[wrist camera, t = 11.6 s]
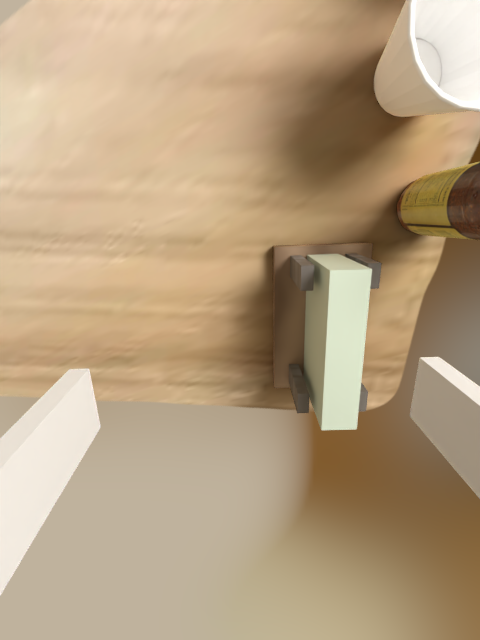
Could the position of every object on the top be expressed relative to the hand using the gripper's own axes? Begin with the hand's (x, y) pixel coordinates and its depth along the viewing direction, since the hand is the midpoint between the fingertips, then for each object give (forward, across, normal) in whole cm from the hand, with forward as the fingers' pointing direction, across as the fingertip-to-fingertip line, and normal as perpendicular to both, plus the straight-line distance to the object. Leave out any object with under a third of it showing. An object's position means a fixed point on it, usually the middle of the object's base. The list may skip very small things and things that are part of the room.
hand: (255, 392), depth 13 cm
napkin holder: (+27, +10, -6) cm, 29 cm away
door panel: (+25, +9, -6) cm, 28 cm away
